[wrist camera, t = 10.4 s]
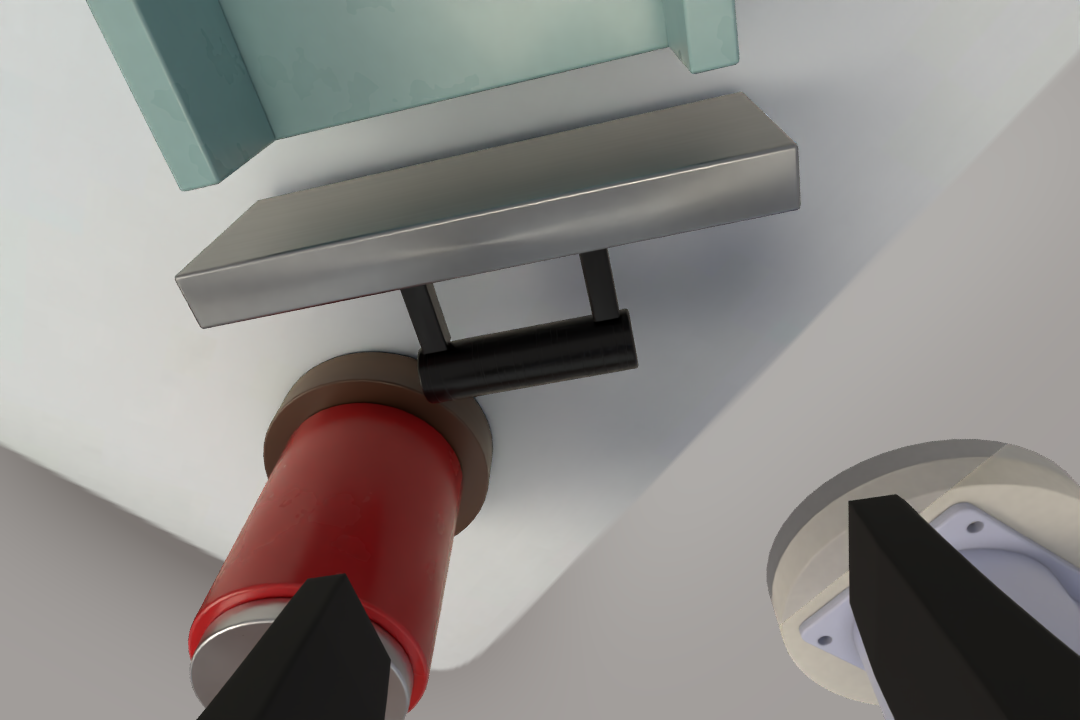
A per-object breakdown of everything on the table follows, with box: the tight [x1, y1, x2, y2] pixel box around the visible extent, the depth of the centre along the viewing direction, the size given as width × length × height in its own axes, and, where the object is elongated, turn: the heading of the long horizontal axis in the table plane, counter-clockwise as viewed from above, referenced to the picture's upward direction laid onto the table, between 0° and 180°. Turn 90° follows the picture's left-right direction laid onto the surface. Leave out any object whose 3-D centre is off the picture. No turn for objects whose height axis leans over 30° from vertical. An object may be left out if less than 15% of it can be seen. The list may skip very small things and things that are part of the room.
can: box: [188, 403, 463, 720], centre depth 18 cm, size 5×5×7 cm
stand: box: [263, 352, 493, 536], centre depth 22 cm, size 7×7×2 cm
